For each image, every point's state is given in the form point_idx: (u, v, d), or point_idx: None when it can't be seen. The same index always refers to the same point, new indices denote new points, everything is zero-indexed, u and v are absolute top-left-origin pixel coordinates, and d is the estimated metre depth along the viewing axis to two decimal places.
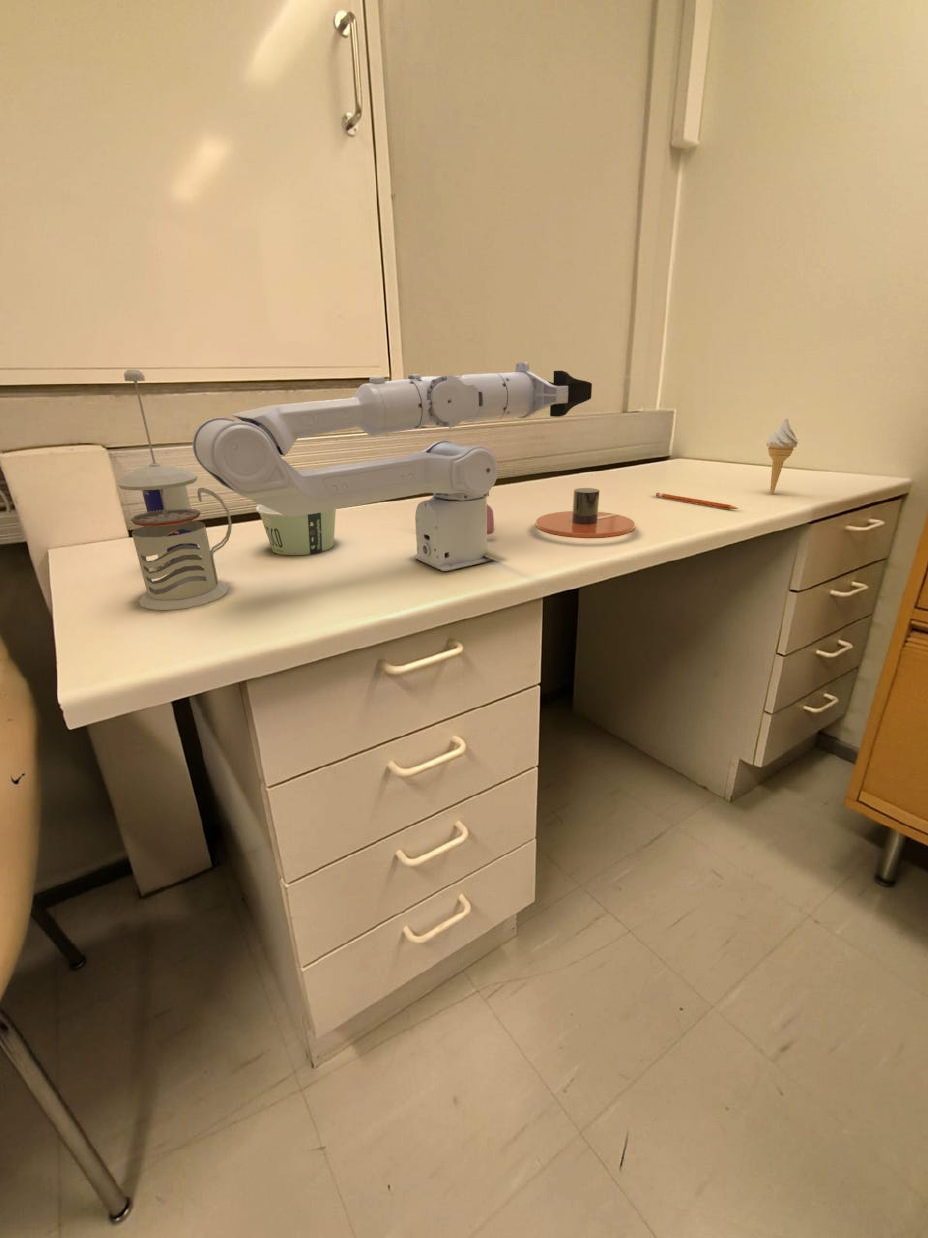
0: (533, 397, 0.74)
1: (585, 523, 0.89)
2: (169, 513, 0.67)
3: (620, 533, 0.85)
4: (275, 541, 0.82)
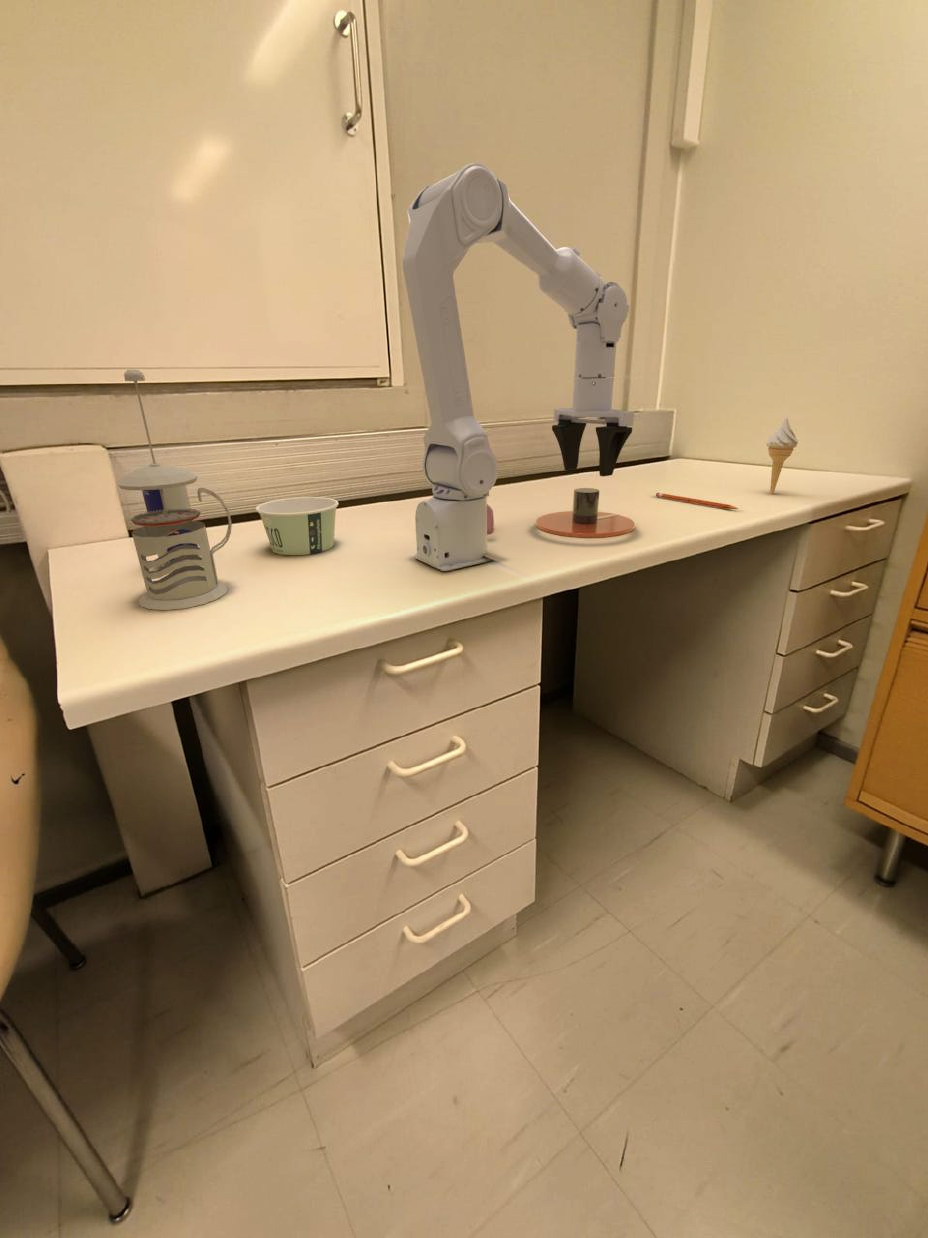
0: (604, 410, 0.82)
1: (585, 523, 0.89)
2: (169, 513, 0.67)
3: (620, 533, 0.85)
4: (275, 541, 0.82)
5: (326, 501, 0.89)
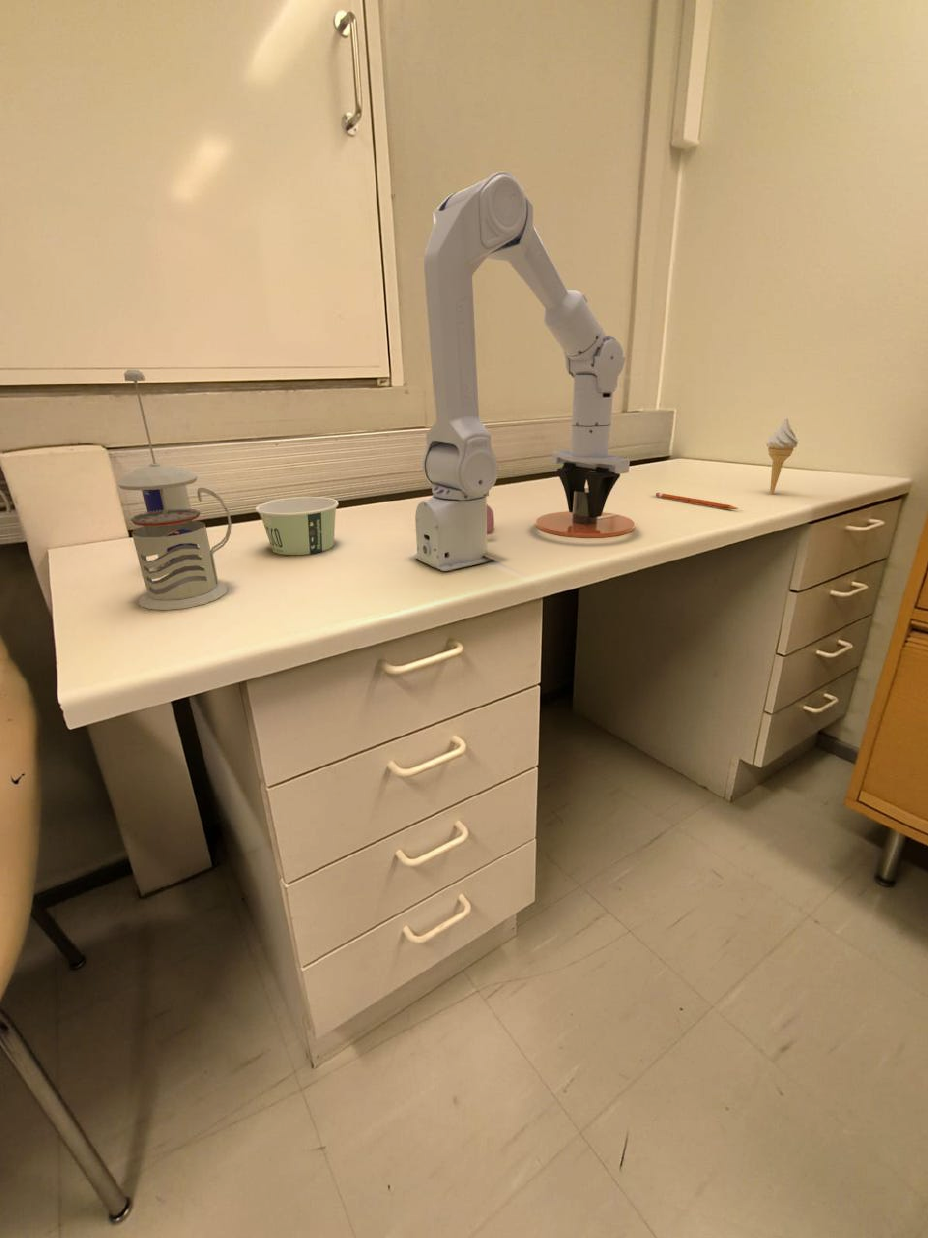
0: (601, 456, 0.85)
1: (585, 523, 0.89)
2: (169, 513, 0.67)
3: (620, 533, 0.85)
4: (275, 541, 0.82)
5: (326, 501, 0.89)
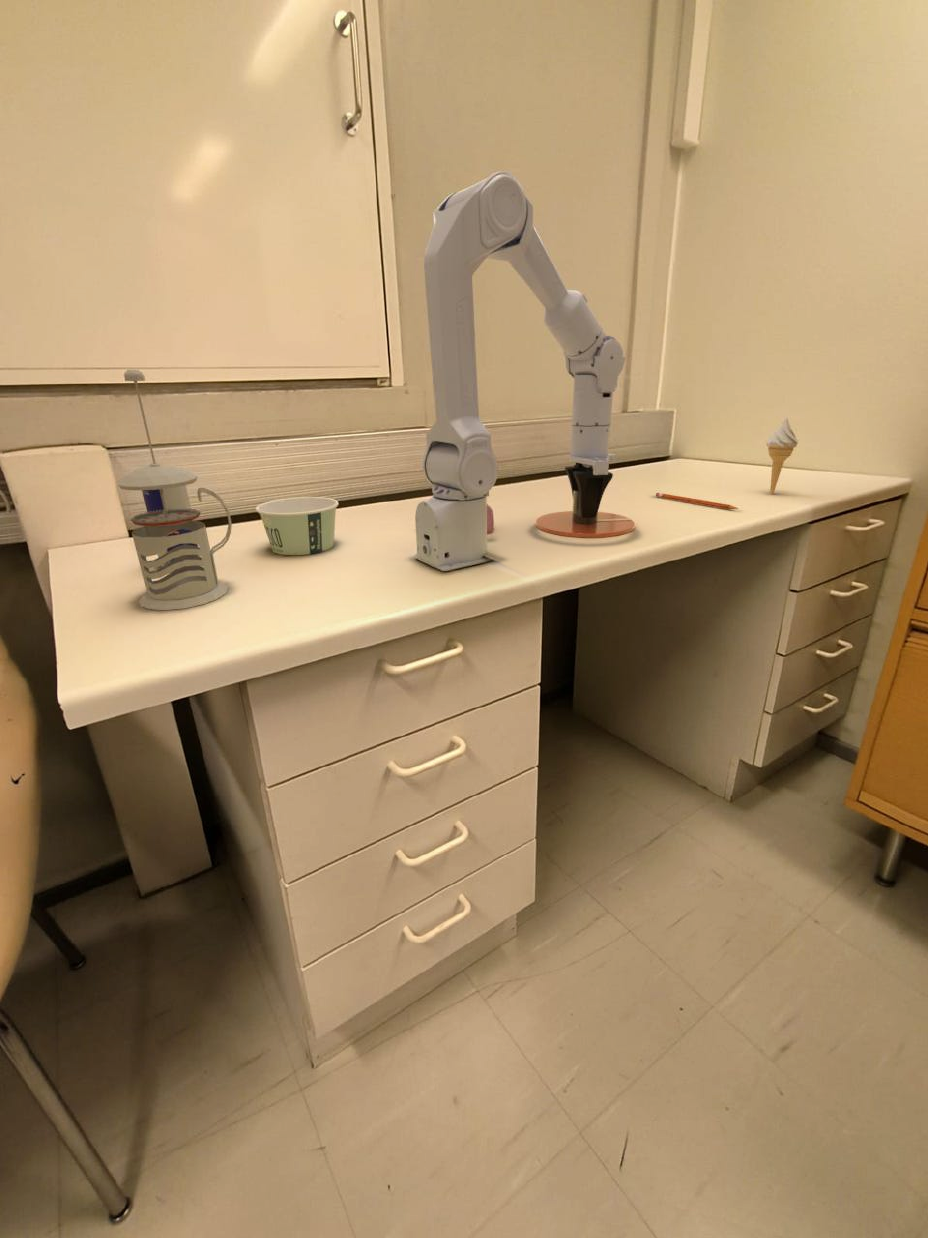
0: (592, 457, 0.84)
1: (578, 523, 0.90)
2: (169, 513, 0.67)
3: (596, 536, 0.84)
4: (275, 541, 0.82)
5: (326, 501, 0.89)
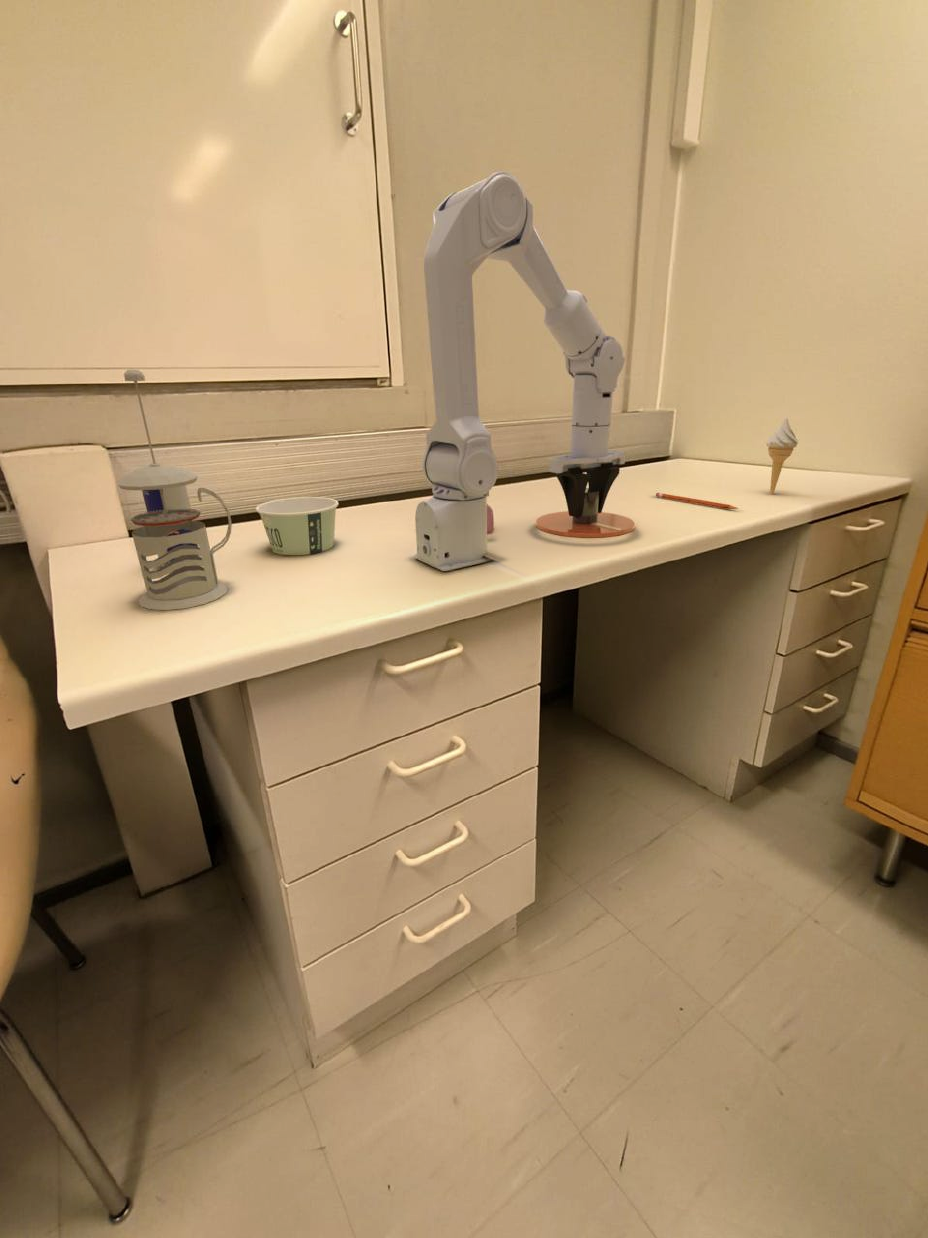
0: (574, 456, 0.86)
1: (571, 520, 0.91)
2: (169, 513, 0.67)
3: (547, 530, 0.87)
4: (275, 541, 0.82)
5: (326, 501, 0.89)
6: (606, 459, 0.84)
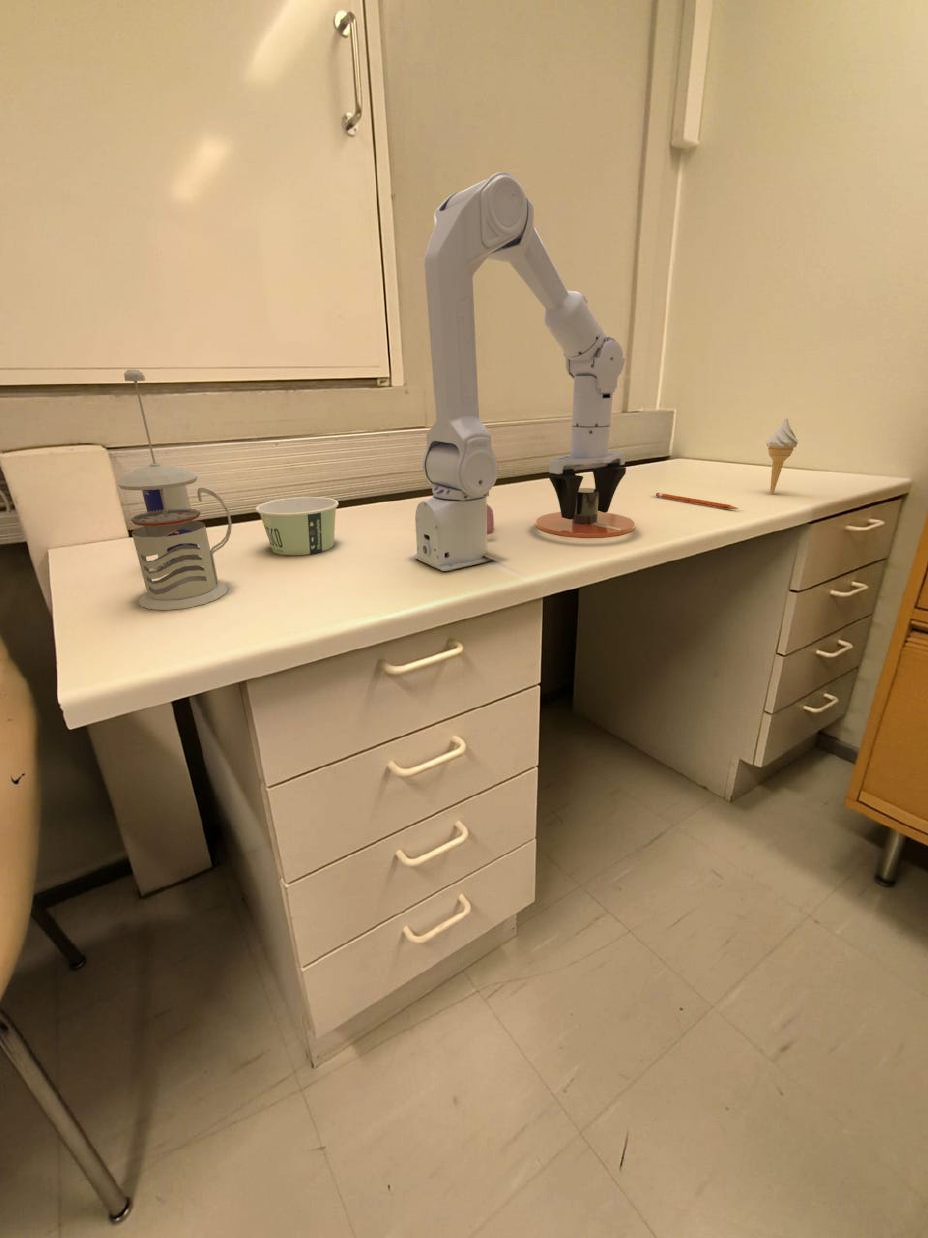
0: (574, 456, 0.86)
1: (571, 520, 0.91)
2: (169, 513, 0.67)
3: (547, 530, 0.87)
4: (275, 541, 0.82)
5: (326, 501, 0.89)
6: (606, 460, 0.84)
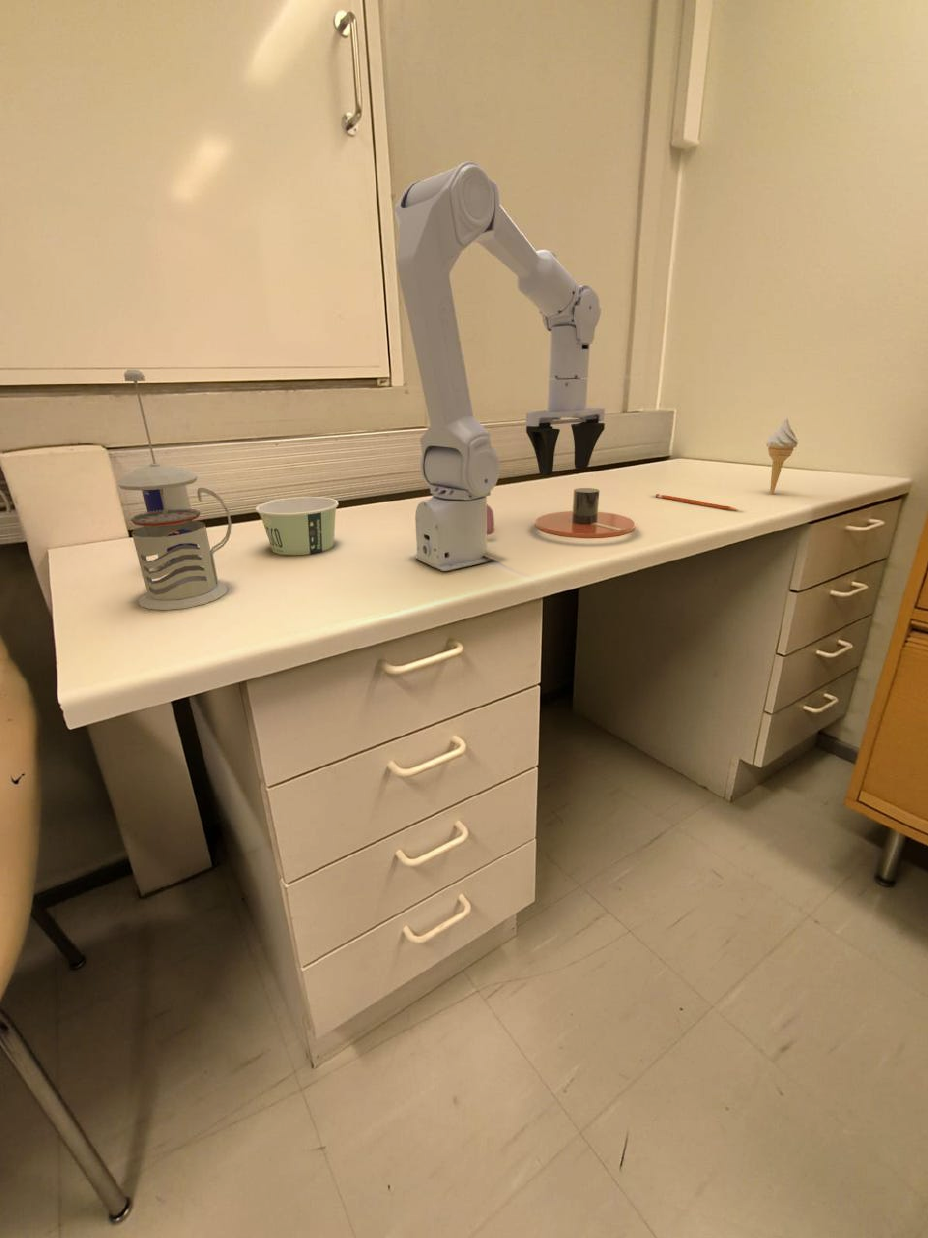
0: (551, 410, 0.85)
1: (571, 520, 0.91)
2: (169, 513, 0.67)
3: (547, 530, 0.87)
4: (275, 541, 0.82)
5: (326, 501, 0.89)
6: (583, 412, 0.83)
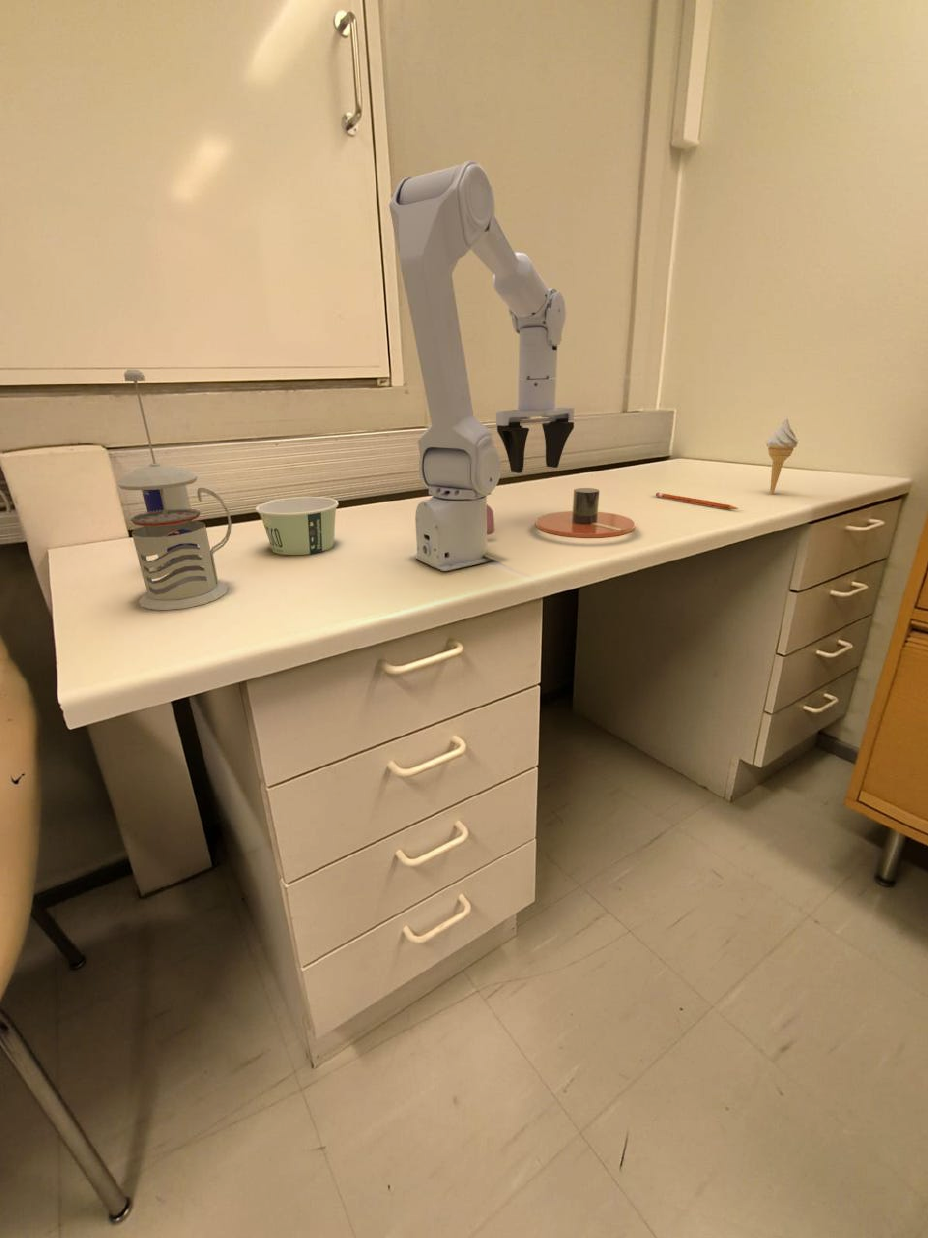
0: (521, 410, 0.87)
1: (571, 520, 0.91)
2: (169, 513, 0.67)
3: (547, 530, 0.87)
4: (275, 541, 0.82)
5: (326, 501, 0.89)
6: (551, 412, 0.85)
